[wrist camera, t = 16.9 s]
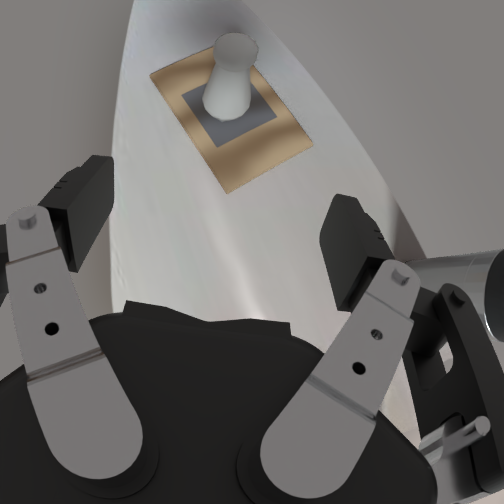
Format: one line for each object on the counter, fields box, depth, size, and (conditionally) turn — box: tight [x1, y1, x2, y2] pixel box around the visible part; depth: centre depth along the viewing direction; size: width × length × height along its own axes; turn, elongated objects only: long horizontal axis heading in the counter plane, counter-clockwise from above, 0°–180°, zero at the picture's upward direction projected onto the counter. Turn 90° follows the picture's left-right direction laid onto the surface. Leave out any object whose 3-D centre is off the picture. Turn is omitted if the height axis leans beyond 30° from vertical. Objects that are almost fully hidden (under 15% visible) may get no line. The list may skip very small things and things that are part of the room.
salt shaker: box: [202, 33, 258, 122], centre depth 32 cm, size 6×6×13 cm
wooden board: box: [150, 47, 313, 194], centre depth 39 cm, size 20×13×1 cm, turn 33°
